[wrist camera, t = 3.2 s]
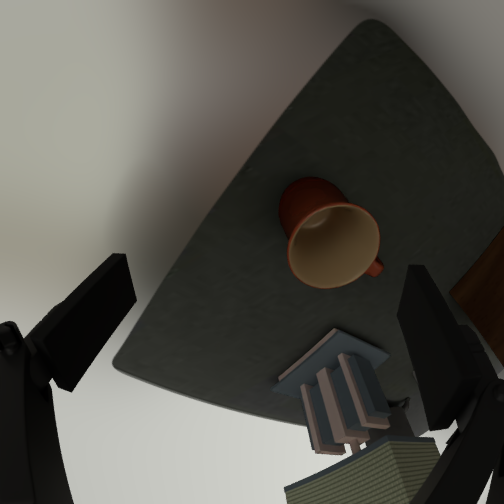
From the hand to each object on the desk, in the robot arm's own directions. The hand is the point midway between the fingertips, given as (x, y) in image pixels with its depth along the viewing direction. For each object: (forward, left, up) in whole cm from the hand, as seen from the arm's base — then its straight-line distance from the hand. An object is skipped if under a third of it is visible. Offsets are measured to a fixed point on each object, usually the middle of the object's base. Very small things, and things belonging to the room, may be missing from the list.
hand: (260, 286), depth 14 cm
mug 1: (+5, +10, -22) cm, 25 cm away
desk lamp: (+33, +20, -22) cm, 44 cm away
